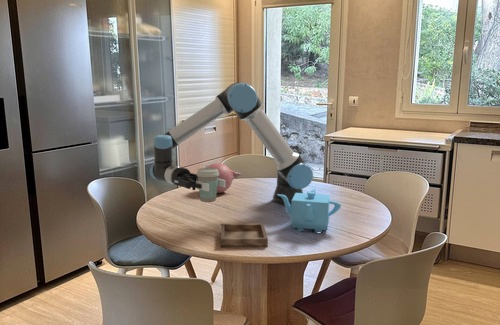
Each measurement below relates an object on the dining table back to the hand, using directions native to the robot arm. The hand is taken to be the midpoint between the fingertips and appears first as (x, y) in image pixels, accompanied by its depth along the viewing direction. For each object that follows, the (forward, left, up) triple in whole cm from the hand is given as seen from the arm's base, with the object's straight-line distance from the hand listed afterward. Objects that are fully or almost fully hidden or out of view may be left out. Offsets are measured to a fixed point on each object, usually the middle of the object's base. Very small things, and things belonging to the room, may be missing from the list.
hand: (216, 185), depth 163 cm
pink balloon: (-2, -60, -19) cm, 63 cm away
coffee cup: (+3, -3, -7) cm, 8 cm away
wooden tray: (-10, +6, -19) cm, 22 cm away
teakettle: (-36, -5, -19) cm, 41 cm away
